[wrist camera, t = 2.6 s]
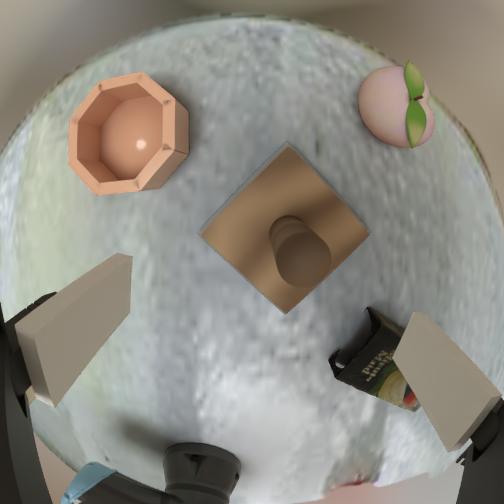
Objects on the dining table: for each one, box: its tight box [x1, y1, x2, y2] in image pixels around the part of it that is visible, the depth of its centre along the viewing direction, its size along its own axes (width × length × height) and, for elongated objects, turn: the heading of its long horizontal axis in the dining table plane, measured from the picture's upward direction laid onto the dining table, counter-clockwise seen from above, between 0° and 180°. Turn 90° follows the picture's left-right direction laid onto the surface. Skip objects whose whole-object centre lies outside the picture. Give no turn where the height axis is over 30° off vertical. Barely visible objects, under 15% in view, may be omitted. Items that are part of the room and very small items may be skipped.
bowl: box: [69, 72, 189, 195], centre depth 27 cm, size 12×12×6 cm
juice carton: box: [328, 307, 422, 412], centre depth 35 cm, size 20×10×6 cm, turn 57°
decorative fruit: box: [358, 61, 435, 148], centre depth 24 cm, size 9×8×10 cm
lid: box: [201, 146, 370, 314], centre depth 26 cm, size 13×13×11 cm
